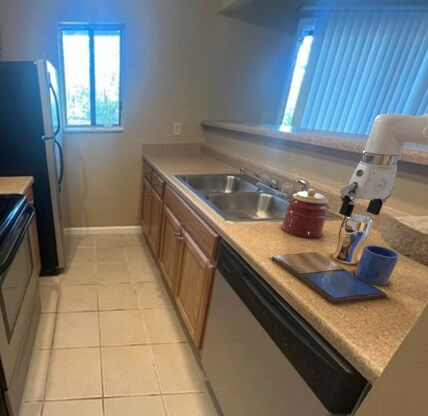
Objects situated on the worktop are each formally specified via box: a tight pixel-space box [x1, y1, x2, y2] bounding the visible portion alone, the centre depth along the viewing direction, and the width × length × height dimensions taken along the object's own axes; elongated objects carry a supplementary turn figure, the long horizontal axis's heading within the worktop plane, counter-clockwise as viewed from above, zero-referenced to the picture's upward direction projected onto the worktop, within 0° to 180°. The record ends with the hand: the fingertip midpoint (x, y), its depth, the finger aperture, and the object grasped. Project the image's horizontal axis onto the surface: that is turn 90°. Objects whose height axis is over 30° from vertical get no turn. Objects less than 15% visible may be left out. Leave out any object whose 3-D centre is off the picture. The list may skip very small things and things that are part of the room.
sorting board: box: [271, 251, 388, 305], centre depth 81 cm, size 16×22×1 cm
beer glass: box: [332, 213, 374, 265], centre depth 87 cm, size 7×7×15 cm
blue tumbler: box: [354, 244, 400, 286], centre depth 79 cm, size 7×7×9 cm
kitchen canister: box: [282, 188, 331, 239], centre depth 107 cm, size 13×13×18 cm
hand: (358, 214), depth 84 cm, fingers open, 9 cm apart
